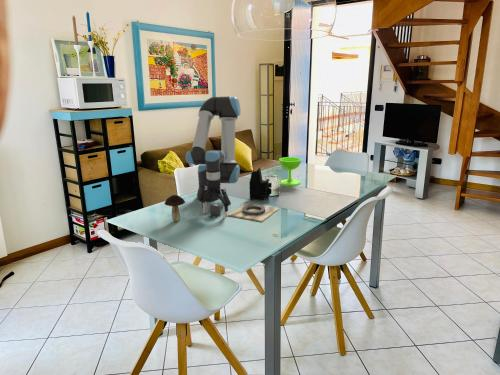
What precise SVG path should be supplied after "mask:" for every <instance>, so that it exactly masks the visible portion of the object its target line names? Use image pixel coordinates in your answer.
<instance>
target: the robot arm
mask: <svg viewBox="0 0 500 375" xmlns="http://www.w3.org/2000/svg"><path fill="white" fill-rule="evenodd" d="M215 116H216V117H218V119H219V120H220V122H221V125H220V126H221V128H220V129H221V131H220V132H221V133H220V134H221V136H220V137H221V139H220V142H221V144H220V145H221V148H220V149H221V150H220V149H218V150H215V149H213V150H208V151H206V145H207V141H208V138H209V133H210V130H211V123H212V120H214V117H215ZM239 116H241V104H240V100H239V99H238V97H237V96H213V97H210V98H207V99H206V100H205V101H204V102H203V103H202V105H200V109H199V110H198V121H197V125H196V131H195V135H194V137H193V141H192V142H193V143H192V147H191V150H189V151H186V153H185V161H186V163H187V164H189V165H198V166H197V178H198V189H197V193H196V199H197V200H198V202H201V207H202V210H203V212H202V213H203V214H204V215H205V214H207V213H208V202H211V201H212V202H214V201H217V200H219V201H220V202H221V203H222V204H223V206H222V208H223V209H222V212H223V213H222V215H223V218H225V219H226V217H228V210H229V206H231V205H232V203H231V200H230V198H229V196H228V194H227V189H226V188H225V187H223V188H221V184H236V183H237V182H238V181H239V177H240V172H241V170H240V169H241V166H240V165H239V164H238V162H237V160H236V121H237V120H238V117H239Z"/></svg>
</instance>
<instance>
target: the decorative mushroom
mask: <svg viewBox="0 0 500 375" xmlns="http://www.w3.org/2000/svg"><path fill="white" fill-rule="evenodd" d="M185 203H186V201H185V200H184V198H182V197H181V196H180V195H177V194H173V195H169V197H168V198H166V199H165V202H164V205H165V206H168V207H171V219H172V221H174V222H179V221H180V218H181V213H180V209H179V206H181V205H184V204H185Z"/></svg>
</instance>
